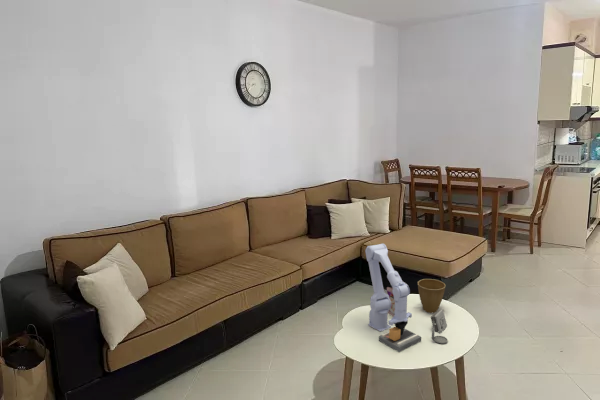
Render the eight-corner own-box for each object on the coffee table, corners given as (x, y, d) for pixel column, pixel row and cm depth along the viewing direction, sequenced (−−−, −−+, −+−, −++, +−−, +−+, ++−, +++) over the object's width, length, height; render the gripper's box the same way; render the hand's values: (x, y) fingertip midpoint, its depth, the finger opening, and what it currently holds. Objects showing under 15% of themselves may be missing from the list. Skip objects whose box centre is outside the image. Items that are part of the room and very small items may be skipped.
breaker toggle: (389, 338, 210) (389, 329, 209) (394, 335, 212) (394, 326, 211) (394, 341, 207) (394, 331, 206) (400, 338, 209) (400, 329, 208)
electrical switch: (440, 334, 218) (439, 316, 217) (430, 331, 221) (429, 314, 220) (447, 326, 225) (446, 309, 224) (437, 324, 229) (436, 308, 227)
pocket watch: (450, 343, 209) (451, 324, 207) (435, 346, 207) (436, 327, 205) (440, 335, 217) (441, 316, 215) (425, 337, 215) (426, 319, 213)
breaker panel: (378, 340, 213) (378, 334, 212) (400, 330, 222) (400, 324, 221) (399, 352, 203) (399, 345, 202) (421, 341, 212) (421, 334, 211)
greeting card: (385, 312, 243) (385, 287, 240) (395, 309, 246) (396, 284, 243) (397, 320, 233) (398, 294, 230) (408, 317, 236) (409, 292, 233)
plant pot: (411, 310, 244) (412, 284, 241) (425, 302, 254) (426, 276, 251) (435, 319, 234) (436, 291, 231) (449, 310, 244) (450, 283, 240)
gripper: (396, 315, 202) (396, 342, 204) (417, 307, 210) (416, 332, 212) (385, 310, 207) (385, 336, 210) (405, 302, 215) (405, 327, 218)
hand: (400, 334), depth 212 cm, fingers closed
